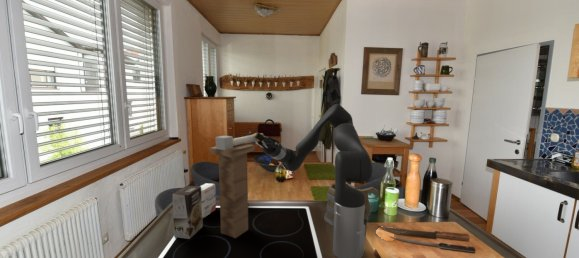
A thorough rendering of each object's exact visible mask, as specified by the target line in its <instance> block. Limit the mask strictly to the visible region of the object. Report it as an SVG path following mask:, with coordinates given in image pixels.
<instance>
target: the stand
mask: <svg viewBox="0 0 579 258" xmlns="http://www.w3.org/2000/svg"><path fill="white" fill-rule="evenodd" d="M255 145H256V144H255ZM255 145H253V144H249V143H245V144H241V145H237V146H233V148H231V149H227V150H220V149H216V145H215V146H213V147H209V154H210V155H211V154H212V155H215V156H216V155H217V156H218V177H219V178H218V179H219V181H218V183H219V211H220V212H219V213H220V215H219V216H220V219H219V220H220V234H222V235H225V236H228V237H231V238H233V239H237V238H239V237H240V236H241V235H242V234H244V233H246V232H247V231H249V201H248V200H249V195H248V194H249V193H248V192H249V191H248V189H249V187H248V186H249V185H248V153H251V152H254V151H255V149H256V148H255Z"/></svg>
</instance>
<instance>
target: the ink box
mask: <svg viewBox="0 0 579 258" xmlns="http://www.w3.org/2000/svg"><path fill="white" fill-rule="evenodd" d="M199 187H201V195H202V219H204V218H206V217H207V216H208V215H210V214H213V212H214V211H216V210H217V203H216V202H217V200H216V198H217V196H216V184H215V183H209V182H208V183H207V182H205V183H203V184H201V185H200V186H199Z"/></svg>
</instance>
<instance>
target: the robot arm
mask: <svg viewBox="0 0 579 258" xmlns="http://www.w3.org/2000/svg"><path fill="white" fill-rule="evenodd" d="M327 123H329V124H330V126H332V127H333V128H334V129H333V132H332V138H333V143H334V146H335V148H336V149H337V150H338V152H337V153H336V154H335V157H334V177H335V178H334V183H335V205H334V226H333V239H332V241H333V242H332V253H333V255H334V256H335V257H336V258H362V257H363V256H364V253H365V243H366V242H365V241H366V224H365V218H364V212H365V195H364V194H363V193H362V192H361V191H359V190H357V189H358V188H355V189H354V188H352V187H350V186H348V185H347V184H348V182H350V183H352V182H354V183H355V182H356V183H358V182H359V183H361V182H368V181H369V180H370V179H371V178H372V176H373V162H372V159H371V157H370V153H368V151H367V150H366V148H365V146H364V145H363V144H362V142H361V139H360V137H359V133H358V132H357V130H356V128H355V125H354V121H353V116H352V115H351V113H349V111H347V109H345V108H344V107H343V106H342V105H341V104H339V103H335V104H333V105H331V106H330V107H329V108H328V109H327V110H326V112H325V113H323V114H322V116H321V117H320V119H319V120H318V121H317V122H316V124H315V125H314V126H313V128H312V129H311V130H310V131H309V132H308V134H307V135H305V136H304V138H303V139H301V141H299V143H297V144H296V146H295V151H294V150H293V149H291V148H290V149H289V148H287V147H286V146H285V145H284V144H283V143H281V142H280V141H279V140H278V139H276V138H274V137H271V136H266V135H264V134H263V135H261V134H260V132H255V133H256V136H255V137H256V138H257V139H258V140H260V141H257V142H256V141H253V142H250V143H251V145H257V146H259V147H260V148H261V149H262V151H263V153H264V154H265V155H267V156H269V157H271V159H274V160H276V161H277V162H279V163H282V164H284V165H285V167H286V169H287V170H288V172H296V171H297V170H298V169H300V168H301V166H302V165H303V162H305V160H306V158H307V156H308V155H310V153H311V152H312V151H313V150H315V149H316V147H317V146H318V144H319V142H320V139H321V135H322V131H323V128H324V127H325V126H326V124H327ZM255 133H254V132H252V131H249V132H248V135H247V136H249V135H251V134H255ZM346 183H347V184H346Z"/></svg>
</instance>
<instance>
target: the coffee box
mask: <svg viewBox="0 0 579 258" xmlns="http://www.w3.org/2000/svg"><path fill="white" fill-rule="evenodd" d="M171 198H172V214H173V215H172V216H173V237H174V238H180V239H186V240H190V239H191V238H193V237H194V236H195V235H196V234H197V233H198V232H199V231H200V230H201V229H202V228H203V227H204V226H203V225H204V224H203V218H202V195H201V187H200V186H198V185H186V186H184V187H181V188H180V189H178V190H176V191H175V192H173V193H172V197H171Z"/></svg>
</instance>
